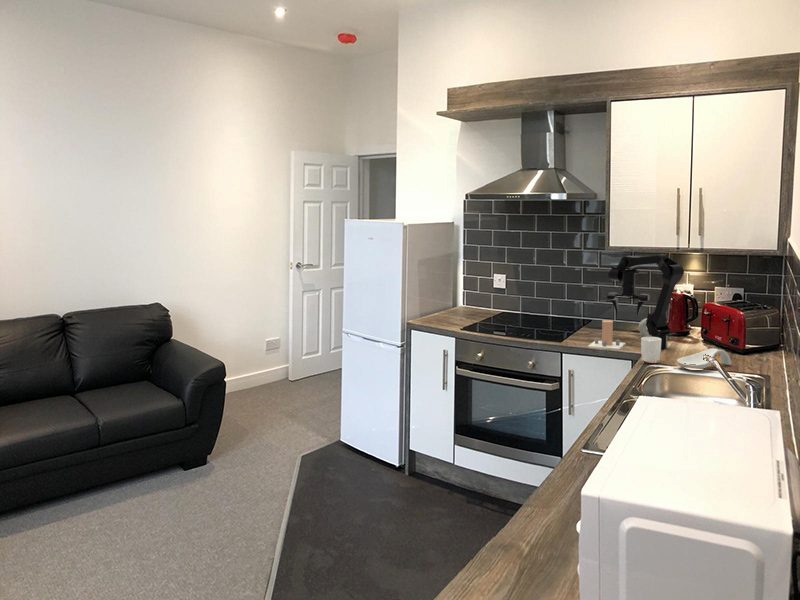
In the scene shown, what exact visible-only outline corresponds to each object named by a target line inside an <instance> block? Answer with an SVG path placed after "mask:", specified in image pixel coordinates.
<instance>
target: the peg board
mask: <svg viewBox="0 0 800 600" xmlns="http://www.w3.org/2000/svg"><path fill="white" fill-rule="evenodd" d="M626 343H627V342H622V341H621V340H620V339H615V341H612V345H606V341H603V345H602V340H600V339H599V337H595V338H594V341H593V342H591V343H589V345H587V348H588V349H589V348H590V349H598V350H599V349H601V350H612V351H620V350H621V349H622V348H623V347H625V345H627V344H626Z"/></svg>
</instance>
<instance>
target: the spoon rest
mask: <svg viewBox="0 0 800 600" xmlns="http://www.w3.org/2000/svg"><path fill="white" fill-rule="evenodd" d="M717 353H719V355H720V364H722V365H727V366H731V365H732V360H731V357H730V355H729V353H728V352H727V351H725V350H723V349H718V348H712V347H711V348H707V349H705V350H702V351H700V352H697V353H693V354H690V355H687V356H686V355H685V356H682V357H680V358H677V360H676V362H677V364H678V365H679V366H680V365H681V366H685V367H691V368H704V367H706V368H708V366H710V364H711V362H707V361H704V360H703V355H705V354H706V355H709V356H711V357H713V358H714V357H715V355H716V354H717ZM684 363H686V364H684ZM689 364H696V365H689ZM681 366H680V367H681Z"/></svg>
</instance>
